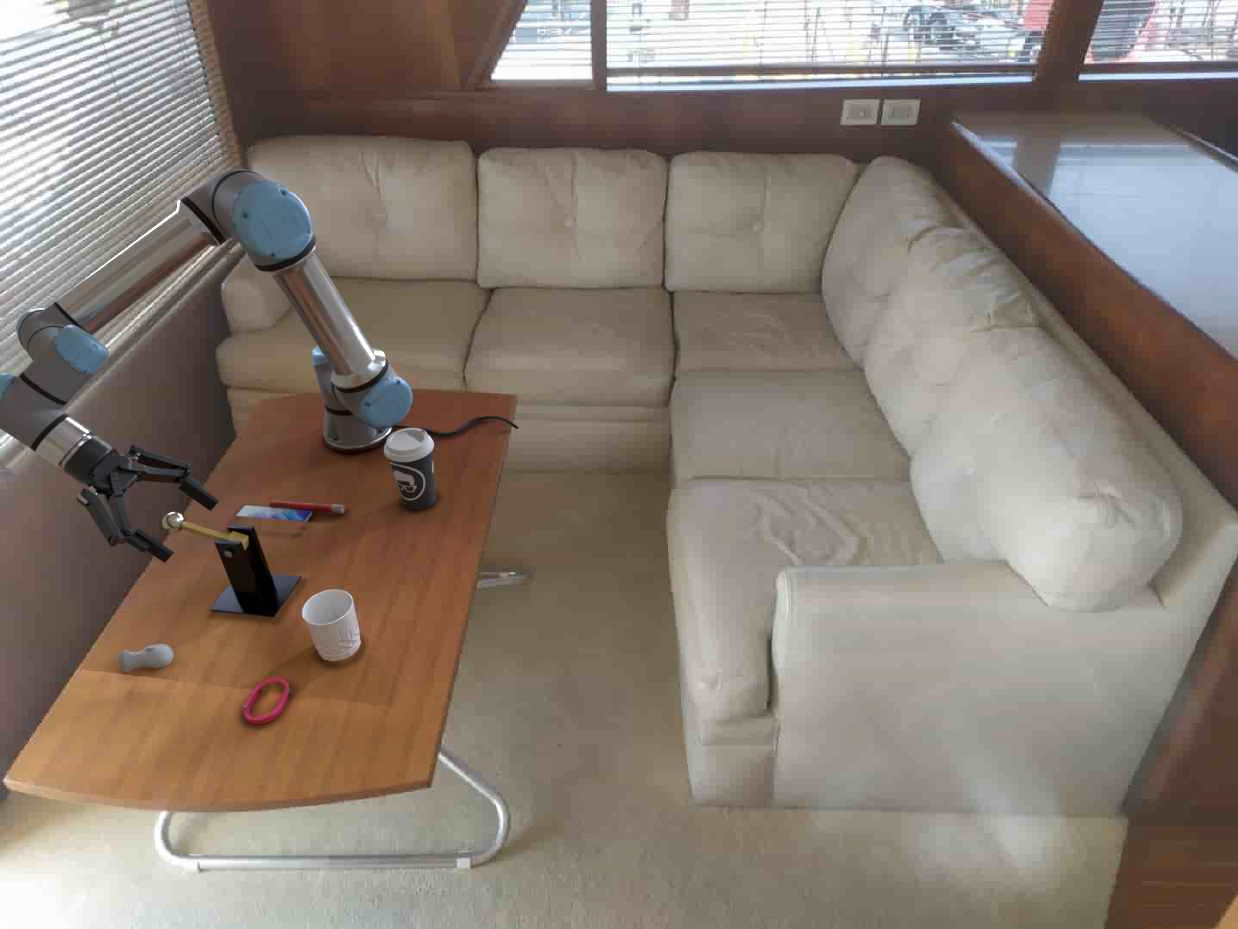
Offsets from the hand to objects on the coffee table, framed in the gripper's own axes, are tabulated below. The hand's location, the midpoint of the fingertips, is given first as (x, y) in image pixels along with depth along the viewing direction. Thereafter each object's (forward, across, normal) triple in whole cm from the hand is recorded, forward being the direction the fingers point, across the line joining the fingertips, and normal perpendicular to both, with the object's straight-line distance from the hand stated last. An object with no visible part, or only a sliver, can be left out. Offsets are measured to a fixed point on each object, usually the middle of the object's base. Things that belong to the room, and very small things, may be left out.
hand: (193, 531), depth 144 cm
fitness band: (+25, +21, +4) cm, 33 cm away
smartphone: (+10, -20, -11) cm, 25 cm away
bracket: (+16, 0, -5) cm, 16 cm away
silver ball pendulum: (+2, 0, 0) cm, 2 cm away
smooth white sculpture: (+9, +17, -12) cm, 22 cm away
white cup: (+30, +10, +9) cm, 33 cm away
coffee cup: (+29, -31, +8) cm, 43 cm away
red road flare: (+13, -25, -6) cm, 29 cm away
